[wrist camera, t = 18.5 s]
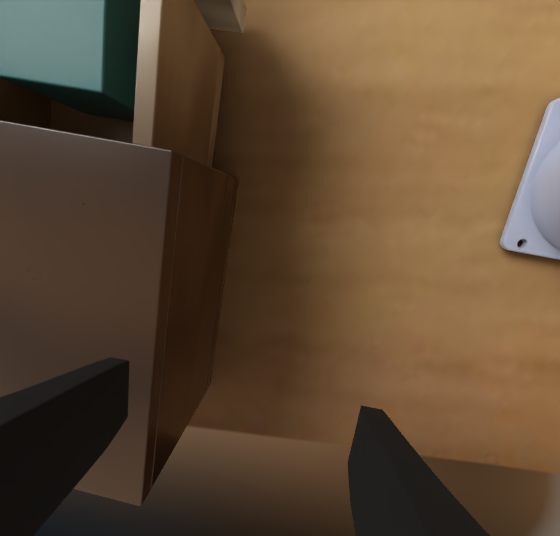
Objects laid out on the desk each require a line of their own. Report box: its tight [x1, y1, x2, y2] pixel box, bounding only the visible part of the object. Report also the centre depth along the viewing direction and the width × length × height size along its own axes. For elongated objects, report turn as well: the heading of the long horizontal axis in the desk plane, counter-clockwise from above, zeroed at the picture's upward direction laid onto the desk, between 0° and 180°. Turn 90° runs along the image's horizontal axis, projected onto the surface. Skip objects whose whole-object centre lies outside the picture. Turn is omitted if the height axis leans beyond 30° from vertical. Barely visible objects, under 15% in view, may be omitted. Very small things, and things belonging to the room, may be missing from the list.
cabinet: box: [0, 120, 238, 506], centre depth 15 cm, size 15×13×9 cm
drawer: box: [0, 0, 246, 167], centre depth 13 cm, size 18×11×7 cm, turn 170°
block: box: [0, 0, 141, 122], centre depth 13 cm, size 4×4×4 cm
